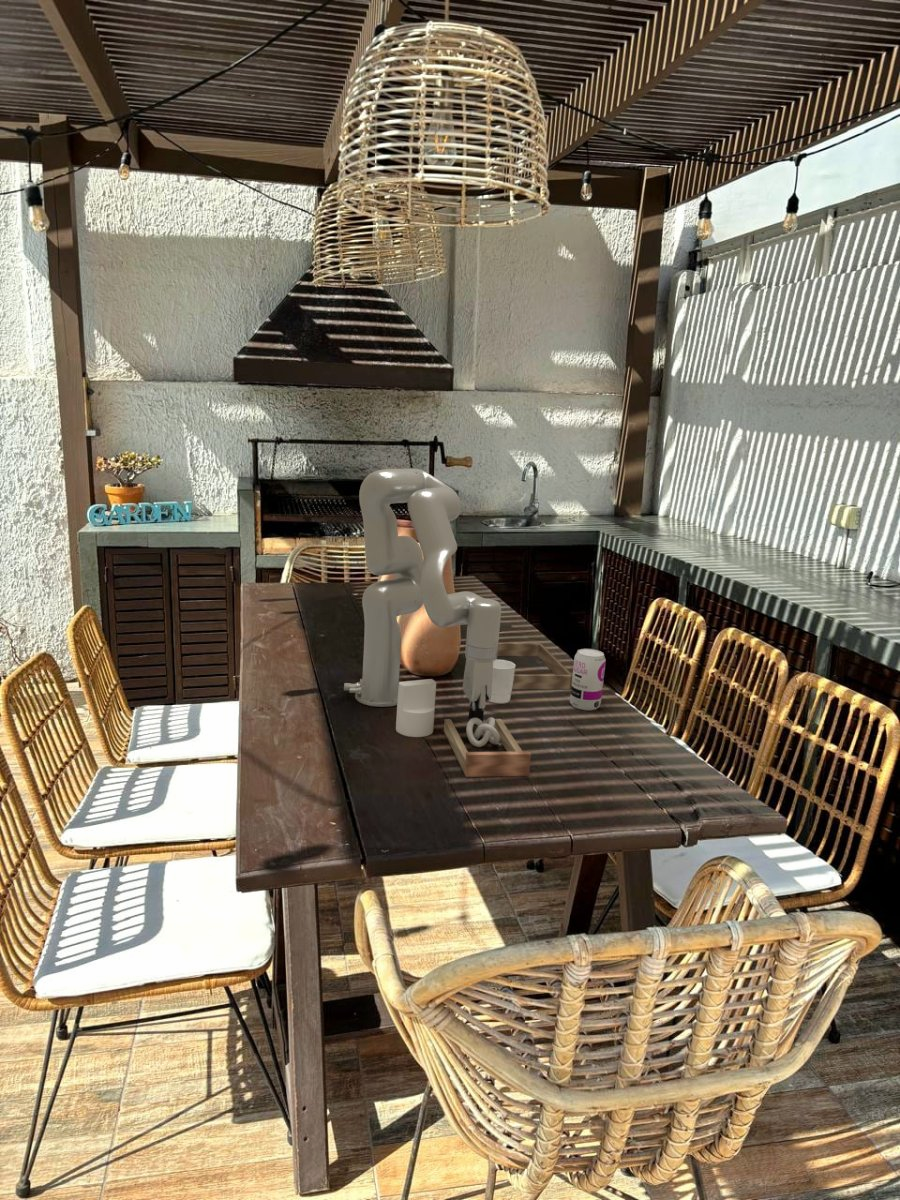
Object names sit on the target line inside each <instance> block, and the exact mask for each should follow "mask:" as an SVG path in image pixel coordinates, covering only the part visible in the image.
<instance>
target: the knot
mask: <svg viewBox="0 0 900 1200" xmlns="http://www.w3.org/2000/svg"><path fill="white" fill-rule="evenodd" d="M495 719H496V718H494V717H488V718H487V719H486V720H485V721H483V722H482V721H481V720H480V719H478V718H472V719H470V720H469V722H468V721H467V723H466V727H465V728H466V730H465V732H466V733H465V734H466V737H467V739H468V741H469V743H470V744H471V745H472V746H474V747H476V748H481V747H483V746H485V745H486V744H487V743H488V742H489V744H492V745H498V744H499V743H500V742H501V741H500V736H499V733H498V732H497V730H496V729H495V728H494V725H495ZM474 724H476V725H478V726H477V727H476V729H475V731H474V730H473V728H474V726H473V725H474ZM473 731H474V732H473ZM482 735H483V736H482ZM481 737H482V738H481ZM480 738H481V739H480ZM479 739H480V740H479Z"/></svg>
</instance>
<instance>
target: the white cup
mask: <svg viewBox="0 0 900 1200" xmlns="http://www.w3.org/2000/svg"><path fill="white" fill-rule="evenodd" d="M515 674H516V664H515V663H514V662H513V661H509V660H506V659H497V660H495V661H493V681H492V694H491V700H490V701H489V702H490V703H492V704H493V703H494V704H506V703H509V702H510V701H511V696H512V692H513V689H512V687H513V680H514V675H515Z"/></svg>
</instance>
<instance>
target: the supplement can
mask: <svg viewBox="0 0 900 1200" xmlns="http://www.w3.org/2000/svg"><path fill="white" fill-rule="evenodd" d="M573 658H574V659H573V669H572V675H573V676H572V685H571V689H570V694H569V695H570V697H569V703H570V704H571V706H572V707H573V708H575V709H578V710H582V711H595V710H597V709H598V708H600V707H601V704H602V694H603V686H604V678H605V670H606V663H607V661H606V660H607V659H606V657H605V654H604V652H602V651H600V650H598V649H594V648H581V649H577V651H576V653H575V655H574V657H573Z"/></svg>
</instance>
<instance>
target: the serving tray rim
mask: <svg viewBox="0 0 900 1200" xmlns="http://www.w3.org/2000/svg"><path fill="white" fill-rule="evenodd" d="M497 657H538V658H539V659H540V661H542V663H543V664H544V665H545V666H546V667H547V668H548V669H549V670H550V671H551V672H552V673H553V674H514V680H513V687H512V690H571V685H572V676H573V673H572V672H570V670H569V669H567V668H566V667H565V665H564V664H562V662H560V660H559V659H558V658H557V657H555V656H554V655H553V654H552V652H550V651H549V650H548V648H547V647H545V646H544V645H543V644H542V643H540V642H538V643H537V642H534V643H533V642H531V643H529V642H528V643H527V642H498V652H497Z"/></svg>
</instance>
